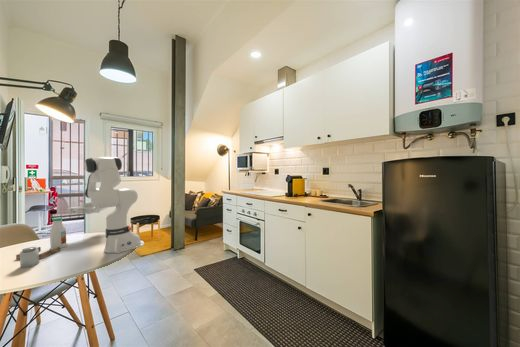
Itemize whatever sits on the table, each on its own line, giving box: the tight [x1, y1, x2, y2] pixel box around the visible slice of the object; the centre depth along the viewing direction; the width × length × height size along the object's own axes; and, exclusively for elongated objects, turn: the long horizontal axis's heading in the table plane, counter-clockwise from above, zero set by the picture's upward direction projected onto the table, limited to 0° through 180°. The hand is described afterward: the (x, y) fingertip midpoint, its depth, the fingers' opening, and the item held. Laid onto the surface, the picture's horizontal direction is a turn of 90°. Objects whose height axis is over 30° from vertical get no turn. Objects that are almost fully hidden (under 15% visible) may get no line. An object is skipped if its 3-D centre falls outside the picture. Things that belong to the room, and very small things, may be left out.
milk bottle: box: [49, 216, 67, 250], centre depth 142 cm, size 8×8×20 cm
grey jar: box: [19, 246, 40, 269], centre depth 117 cm, size 7×7×9 cm
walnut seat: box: [15, 246, 61, 260], centre depth 130 cm, size 12×14×2 cm
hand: (73, 211), depth 154 cm, fingers closed
